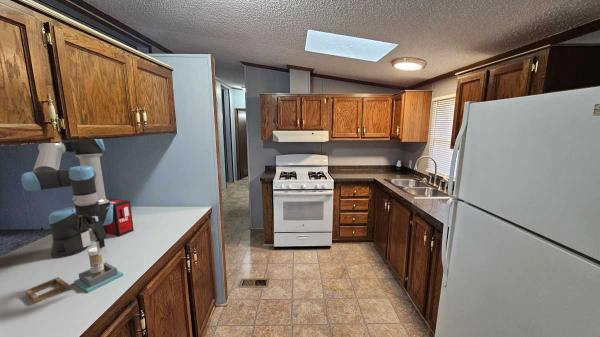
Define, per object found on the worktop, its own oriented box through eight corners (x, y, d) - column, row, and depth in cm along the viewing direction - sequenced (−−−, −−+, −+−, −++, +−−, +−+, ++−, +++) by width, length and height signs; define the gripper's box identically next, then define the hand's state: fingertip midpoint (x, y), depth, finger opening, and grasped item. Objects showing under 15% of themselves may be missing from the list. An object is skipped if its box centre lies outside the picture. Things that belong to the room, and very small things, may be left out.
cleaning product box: (101, 232, 154) (97, 202, 151) (116, 227, 163) (112, 198, 159) (119, 236, 149) (115, 205, 145) (133, 230, 157) (129, 201, 153)
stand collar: (25, 295, 98) (24, 290, 97) (59, 281, 106) (58, 277, 106) (35, 303, 93) (34, 298, 93) (69, 288, 102) (68, 283, 101)
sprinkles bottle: (92, 281, 104) (88, 252, 102) (91, 277, 107) (86, 248, 105) (106, 277, 107) (102, 248, 105) (104, 272, 111) (100, 245, 108)
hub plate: (74, 283, 105) (72, 274, 104) (108, 267, 116) (107, 260, 115) (88, 292, 99) (86, 283, 98) (123, 275, 110) (122, 267, 109)
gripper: (62, 200, 104) (70, 246, 108) (90, 211, 92) (98, 261, 96) (83, 196, 110) (91, 239, 114) (112, 205, 99) (119, 253, 103)
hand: (94, 249), depth 105 cm, fingers open, 13 cm apart
